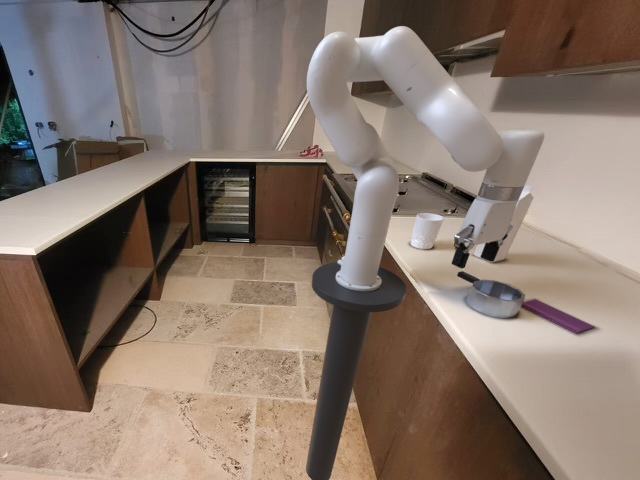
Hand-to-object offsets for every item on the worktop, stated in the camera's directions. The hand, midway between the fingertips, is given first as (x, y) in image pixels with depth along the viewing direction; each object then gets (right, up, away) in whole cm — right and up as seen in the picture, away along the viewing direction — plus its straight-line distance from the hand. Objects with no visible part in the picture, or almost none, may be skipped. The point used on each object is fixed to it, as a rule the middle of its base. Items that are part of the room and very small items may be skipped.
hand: (472, 262), depth 80 cm
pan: (+2, -10, 0) cm, 10 cm away
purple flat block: (+14, -13, -6) cm, 20 cm away
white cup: (+4, +9, +30) cm, 31 cm away
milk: (+20, +4, +21) cm, 29 cm away
